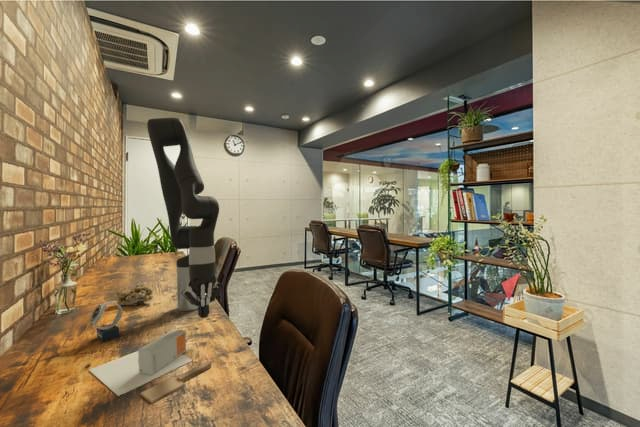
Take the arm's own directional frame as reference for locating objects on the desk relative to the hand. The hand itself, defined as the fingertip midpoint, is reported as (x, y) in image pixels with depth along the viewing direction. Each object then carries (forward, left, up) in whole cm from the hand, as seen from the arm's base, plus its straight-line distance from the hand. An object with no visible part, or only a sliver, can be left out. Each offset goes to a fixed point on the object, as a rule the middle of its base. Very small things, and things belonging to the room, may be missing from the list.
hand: (203, 317), depth 88 cm
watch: (+16, -27, -7) cm, 32 cm away
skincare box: (+8, +1, -4) cm, 9 cm away
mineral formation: (-3, -55, -7) cm, 56 cm away
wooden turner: (+16, +15, -7) cm, 23 cm away
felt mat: (+18, 0, -7) cm, 19 cm away
